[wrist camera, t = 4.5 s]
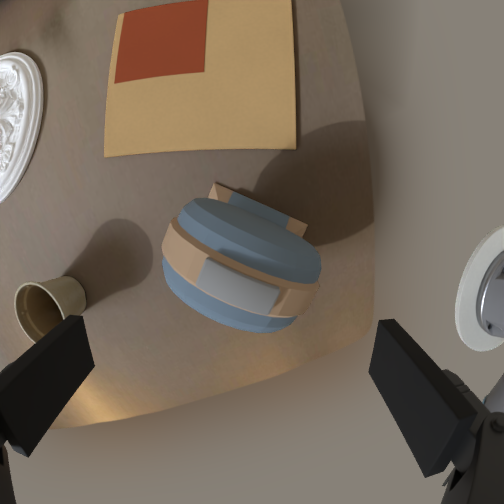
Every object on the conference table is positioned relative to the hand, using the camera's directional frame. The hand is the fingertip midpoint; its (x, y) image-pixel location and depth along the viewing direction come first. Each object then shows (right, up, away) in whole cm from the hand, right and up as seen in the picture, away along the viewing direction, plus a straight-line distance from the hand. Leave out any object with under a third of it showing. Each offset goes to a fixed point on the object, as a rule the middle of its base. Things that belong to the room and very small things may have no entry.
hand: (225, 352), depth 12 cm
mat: (-6, +27, +20) cm, 34 cm away
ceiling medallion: (-44, +25, +21) cm, 55 cm away
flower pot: (-26, -2, +27) cm, 37 cm away
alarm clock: (0, +6, +25) cm, 26 cm away
